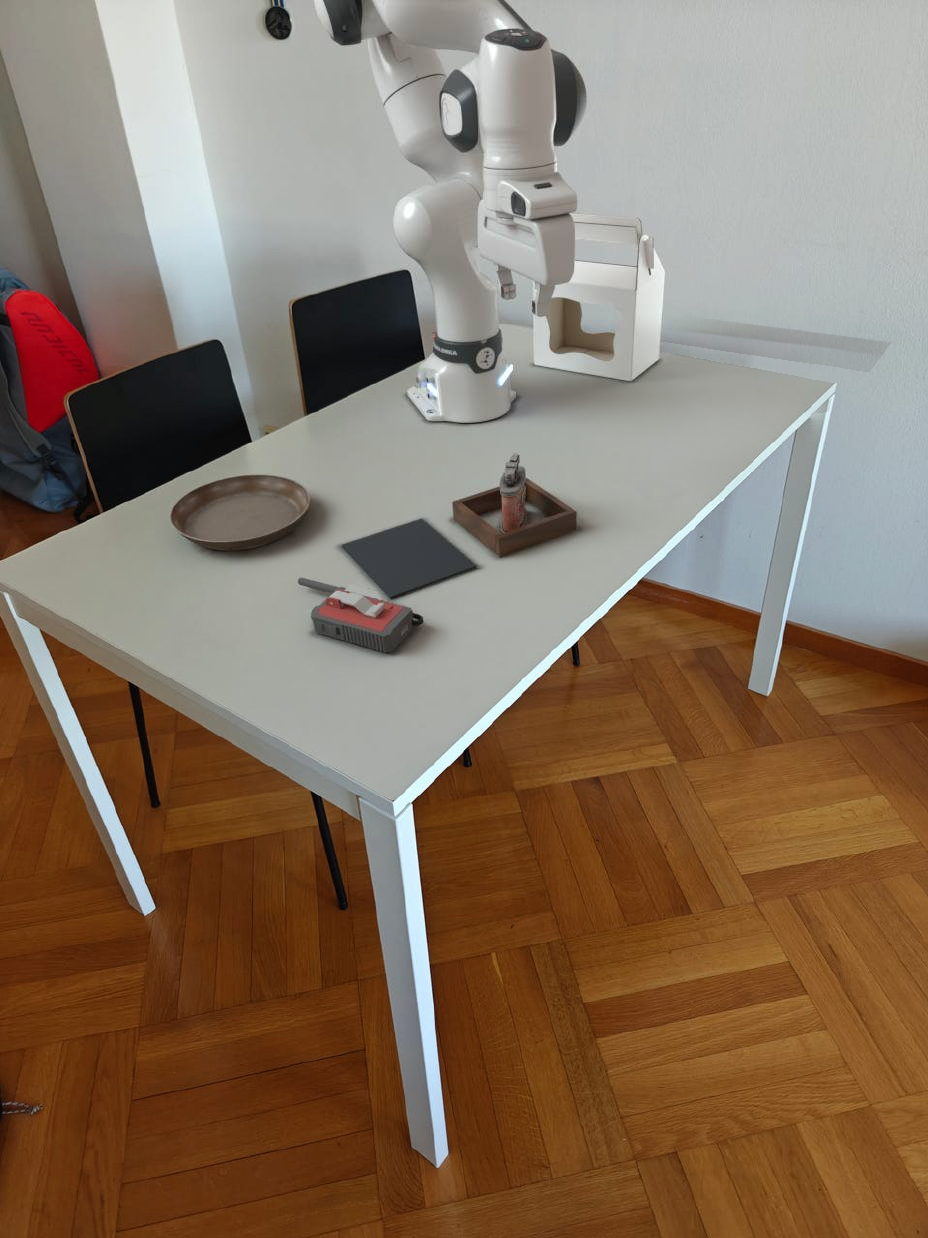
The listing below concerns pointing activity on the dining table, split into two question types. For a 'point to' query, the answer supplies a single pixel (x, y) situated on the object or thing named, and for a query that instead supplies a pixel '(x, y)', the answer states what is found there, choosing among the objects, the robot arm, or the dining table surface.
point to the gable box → (605, 285)
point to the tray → (520, 538)
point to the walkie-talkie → (361, 616)
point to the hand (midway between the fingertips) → (524, 306)
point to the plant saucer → (240, 511)
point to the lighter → (513, 495)
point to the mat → (407, 558)
